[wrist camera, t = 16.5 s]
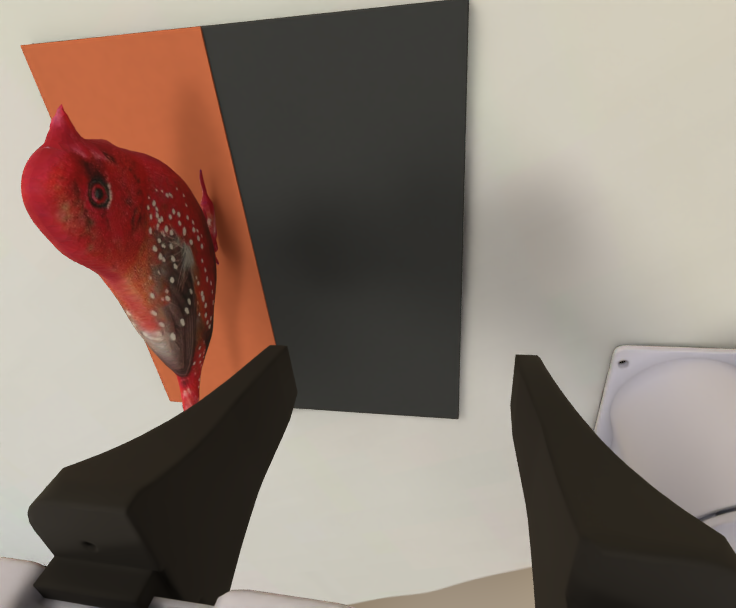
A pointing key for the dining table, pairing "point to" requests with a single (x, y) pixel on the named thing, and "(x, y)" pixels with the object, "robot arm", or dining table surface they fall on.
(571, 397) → the dining table surface
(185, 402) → the decorative bird figurine
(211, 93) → the orange and black board
